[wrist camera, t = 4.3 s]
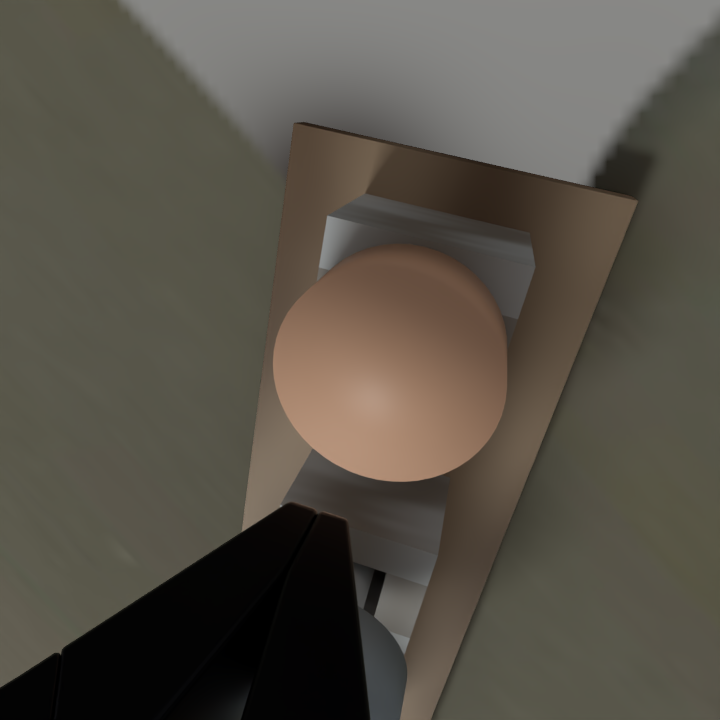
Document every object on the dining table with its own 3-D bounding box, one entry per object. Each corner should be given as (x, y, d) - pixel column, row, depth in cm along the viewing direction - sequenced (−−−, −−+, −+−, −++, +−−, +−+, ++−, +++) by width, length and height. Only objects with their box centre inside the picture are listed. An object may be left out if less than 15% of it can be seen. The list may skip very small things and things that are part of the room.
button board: (631, 196, 16) (676, 228, 12) (420, 730, 28) (404, 849, 23) (304, 122, 18) (236, 126, 13) (231, 661, 29) (181, 761, 25)
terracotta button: (530, 237, 16) (541, 302, 11) (480, 390, 18) (468, 508, 13) (359, 196, 17) (288, 238, 11) (331, 348, 19) (261, 444, 13)
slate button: (442, 524, 18) (415, 698, 13) (407, 630, 20) (371, 816, 15) (295, 478, 19) (210, 625, 13) (277, 585, 21) (197, 748, 16)
